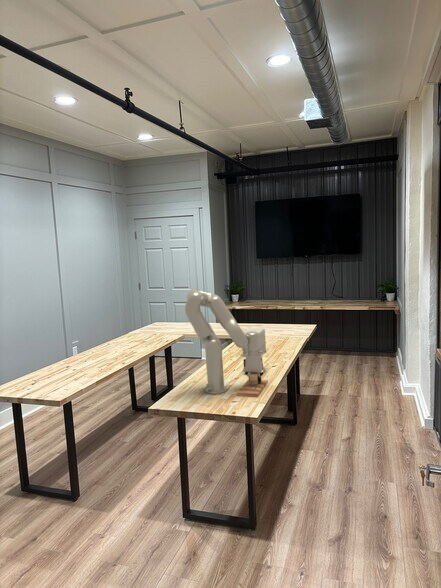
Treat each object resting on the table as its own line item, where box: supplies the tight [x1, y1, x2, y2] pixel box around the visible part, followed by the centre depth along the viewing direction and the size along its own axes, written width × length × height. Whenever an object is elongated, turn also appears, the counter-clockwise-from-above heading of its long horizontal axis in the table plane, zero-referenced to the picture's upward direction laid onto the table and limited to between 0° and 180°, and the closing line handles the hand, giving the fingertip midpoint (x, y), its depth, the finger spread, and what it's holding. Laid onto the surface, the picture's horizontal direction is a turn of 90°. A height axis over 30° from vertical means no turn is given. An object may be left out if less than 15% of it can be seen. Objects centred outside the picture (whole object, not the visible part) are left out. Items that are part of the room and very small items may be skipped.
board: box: [236, 378, 269, 398], centre depth 244 cm, size 24×12×2 cm, turn 161°
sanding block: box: [248, 372, 258, 385], centre depth 249 cm, size 7×4×6 cm, turn 160°
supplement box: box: [241, 328, 267, 358], centre depth 318 cm, size 17×13×18 cm
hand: (255, 382), depth 249 cm, fingers closed on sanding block, 4 cm apart
